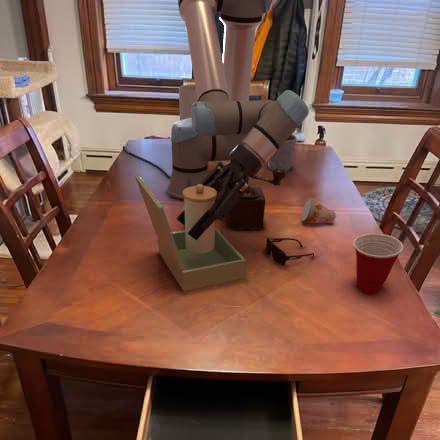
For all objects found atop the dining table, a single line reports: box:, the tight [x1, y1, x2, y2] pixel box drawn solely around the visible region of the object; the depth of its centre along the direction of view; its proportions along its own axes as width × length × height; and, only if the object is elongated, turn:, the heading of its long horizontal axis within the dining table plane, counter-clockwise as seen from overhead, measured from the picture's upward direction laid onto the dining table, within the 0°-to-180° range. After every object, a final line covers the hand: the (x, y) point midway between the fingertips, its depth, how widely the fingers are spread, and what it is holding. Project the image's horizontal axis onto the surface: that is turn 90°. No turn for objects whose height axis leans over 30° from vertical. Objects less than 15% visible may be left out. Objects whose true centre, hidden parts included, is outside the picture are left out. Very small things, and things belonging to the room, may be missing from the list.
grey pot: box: [267, 133, 297, 172], centre depth 175 cm, size 10×10×12 cm
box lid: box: [134, 174, 184, 272], centre depth 105 cm, size 16×20×1 cm
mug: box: [301, 198, 337, 224], centre depth 137 cm, size 8×10×10 cm
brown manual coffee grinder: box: [225, 167, 287, 231], centre depth 133 cm, size 16×11×18 cm
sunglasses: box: [265, 236, 315, 266], centre depth 120 cm, size 10×12×5 cm
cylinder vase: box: [178, 84, 198, 121], centre depth 184 cm, size 12×12×25 cm
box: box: [157, 226, 247, 292], centre depth 114 cm, size 16×20×6 cm
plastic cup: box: [352, 233, 404, 295], centre depth 107 cm, size 11×11×12 cm
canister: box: [183, 184, 218, 253], centre depth 108 cm, size 8×8×16 cm
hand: (186, 229), depth 109 cm, fingers closed on canister, 7 cm apart
